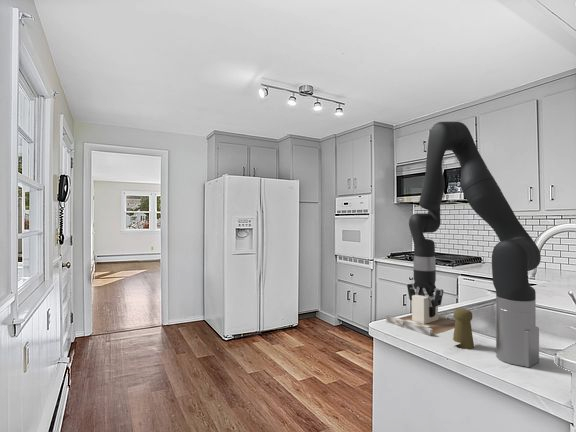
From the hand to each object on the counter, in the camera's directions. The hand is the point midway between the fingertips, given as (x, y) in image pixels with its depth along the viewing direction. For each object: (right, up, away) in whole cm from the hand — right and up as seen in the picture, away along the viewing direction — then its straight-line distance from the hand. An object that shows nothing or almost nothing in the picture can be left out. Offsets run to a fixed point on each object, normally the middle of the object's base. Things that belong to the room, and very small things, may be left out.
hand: (424, 314), depth 130 cm
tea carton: (0, -2, 0) cm, 2 cm away
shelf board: (-1, -4, -3) cm, 5 cm away
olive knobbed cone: (+4, -4, -20) cm, 21 cm away
